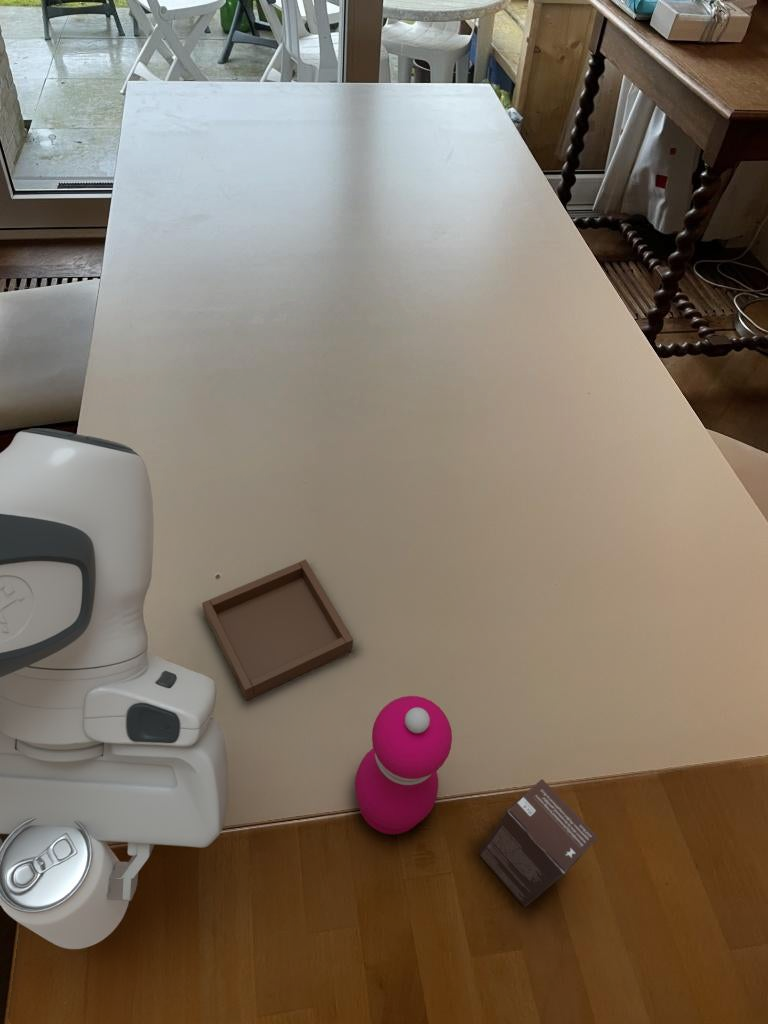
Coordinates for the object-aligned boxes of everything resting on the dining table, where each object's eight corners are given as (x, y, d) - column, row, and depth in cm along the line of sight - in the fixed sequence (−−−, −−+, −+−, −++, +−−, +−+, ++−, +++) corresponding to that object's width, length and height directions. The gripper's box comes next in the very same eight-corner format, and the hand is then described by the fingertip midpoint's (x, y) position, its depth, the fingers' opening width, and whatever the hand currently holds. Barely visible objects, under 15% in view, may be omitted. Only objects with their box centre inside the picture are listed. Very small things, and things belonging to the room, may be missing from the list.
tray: (246, 700, 76) (245, 690, 74) (204, 614, 81) (201, 602, 79) (352, 650, 80) (353, 639, 78) (305, 571, 85) (305, 559, 83)
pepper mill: (445, 816, 71) (489, 737, 55) (376, 856, 68) (400, 785, 52) (406, 746, 74) (435, 652, 58) (338, 781, 72) (349, 694, 56)
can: (22, 891, 57) (-34, 851, 47) (104, 833, 59) (68, 784, 50) (63, 972, 54) (14, 946, 44) (148, 907, 57) (119, 870, 47)
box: (558, 872, 69) (601, 837, 59) (523, 909, 67) (562, 879, 57) (509, 817, 71) (542, 775, 62) (474, 851, 69) (503, 813, 60)
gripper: (-129, 695, 46) (-130, 912, 48) (224, 722, 47) (209, 933, 49) (-71, 659, 52) (-74, 852, 54) (240, 683, 53) (225, 872, 55)
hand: (63, 891), depth 51 cm, fingers closed on can, 6 cm apart
